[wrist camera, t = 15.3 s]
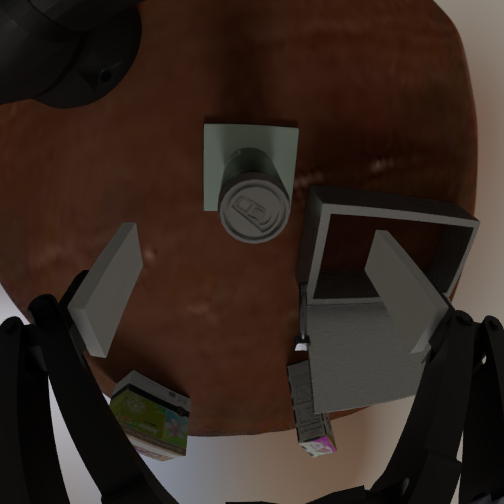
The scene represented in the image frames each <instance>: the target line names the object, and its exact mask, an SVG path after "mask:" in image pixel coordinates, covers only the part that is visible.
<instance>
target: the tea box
mask: <svg viewBox="0 0 504 504" xmlns="http://www.w3.org/2000/svg"><path fill="white" fill-rule="evenodd" d="M190 402H191V399H190V398H187V397H185V396H182V395H180V394H178V393H176V392H174V391H172V390H170V389H168V388H166V387H164V386H162V385H160V384H158V383H156V382H154V381H152V380H151V379H149V378H147V377H145V376H143V375H142V374H140V373H138V372H137V371H135V370H133V371H131V372H130V373H129V374H128V375H127V376H125V377H124V378H123V379H122V380H120V381H119V382H118V383H117V384H116V385H115V388H114V391H113V395H112V398H111V401H110V405H109V407H110V409H111V410H112V412H113V414H114V416H115V417H116V419H117V421H118V422H119V424H120V426H121V427H122V429H123V431H124V432H125V434H126V435H127V437H128V439H129V440H130V442H131V443H132V445H133V446H134V448H135V449H136V451H137V452H138V453H140V454H143V455H145V456H148V457H151V458H154V459H156V460H159V461H166V460H169V459H173V458H177V457H181V456H185V455H186V446H187V435H188V425H189V415H190Z"/></svg>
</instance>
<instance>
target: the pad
mask: <svg viewBox="0 0 504 504" xmlns="http://www.w3.org/2000/svg"><path fill="white" fill-rule="evenodd" d="M298 134H299V129H298V128H291V127H279V126H265V125H246V124H204V211H218V209H217V208H218V198H219V193H220V188H221V182H222V177H223V172H224V167H225V164H226V162H227V160H228V158H229V157H230V156H231V155H232V154H233V153H234V152H236V151H238V150H240V149H242V148H248V147H250V148H257V149H259V150H261V151H263V152H265V153H266V154H267V155H268V156H269V157H270V159H271V160H272V162H273V164H274V166H275V168H276V170H277V172H278V174H279V176H280V178H281V180H282V182H283V184H284V186H285V189H286V191H287V193H288V195H289V198H290V206H291V200H292V191H293V182H294V173H295V164H296V154H297V144H298ZM290 208H291V207H290Z"/></svg>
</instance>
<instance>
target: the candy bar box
mask: <svg viewBox="0 0 504 504" xmlns="http://www.w3.org/2000/svg"><path fill="white" fill-rule="evenodd" d="M286 369H287V375H288V381H289V387H290V393H291V399H292V406H293V412H294V419H295V424H296V430H297V437H298V443H299V444H300V445H301V446H302V447H303V448H304V449H305V450H306V451H307V452H308V453H309V454H310V455H311V456H312V457H317V456H321V455H325V454H328V453H333V452H335V451H337V449H336V445H335V440H334V436H333V431H332V427H331V423H330V419H329V415H328V412H326V413H318V414H313V408H312V396H311V385H310V374H309V364H308V360H305V361H302V362H299V363H296V364H292V365H289V366H286Z"/></svg>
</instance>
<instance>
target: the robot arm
mask: <svg viewBox="0 0 504 504" xmlns="http://www.w3.org/2000/svg"><path fill="white" fill-rule="evenodd" d="M143 1H145V0H0V105H3V104H7V103H12V102H16V101H21V100H26V99H33V100H36V101H38V102H41V103H43V104H45V105H48V106H50V107H54V108H62V109H67V108H74V107H80V106H84V105H88V104H90V103H93V102H95V101H97V100H99V99H100V98H102V97H103V96H105V95H106V94H108V93H109V92H110V91H111V90H112V89H113V88H115V87H116V86H117V85H118V83H119V82H120V81H121V80H122V79H123V78H124V76H125V75H126V73H127V72H128V70H129V69H130V67H131V65H132V64H133V62H134V59H135V57H136V55H137V52H138V49H139V45H140V40H141V21H140V17H139V15H138V12H137V10H136V9H135V7H134V5H136V4H138V3H140V2H143ZM142 267H143V263H142V258H141V252H140V246H139V240H138V233H137V227H136V223H122V225H121V226H120V227H119V229H118V230H117V232H116V233H115V234H114V236H113V237H112V239H111V240H110V241H109V243H108V244H107V246H106V247H105V248H104V250H103V251H102V253H101V254H100V256H99V257H98V259H97V260H96V262H95V263H94V265H93V266H92V268H91V269H90V270H83V271H82V272H81V273H79V274H78V275H77V276H76V277H75V278H74V280H73V282H72V283H71V285H70V286H69V288H68V289H67V291H66V292H65V294H64V295H63V297H62V299H61V300H60V302H59V304H58V303H57V300H56V298H55V297H54V296H53V295H51V294H44V295H40V296H38V297H36V298H35V299H34V300H33V301H32V302H31V303H30V304H29V306H28V313H29V315H30V317H31V319H32V321H33V323H34V324H29V325H24V324H23V322H22V320H21V319H20V318H19V317H16V316H13V317H10V318H7V319H6V320H5V321H4V322H3V323H2V324H1V325H0V504H70V501H69V498H68V495H67V492H66V488H65V484H64V481H63V477H62V473H61V469H60V464H59V460H58V455H57V450H56V444H55V439H54V433H53V426H52V418H51V410H50V399H49V385H48V377H49V380H50V383H51V386H52V389H53V392H54V395H55V398H56V401H57V403H58V406H59V409H60V411H61V414H62V416H63V419H64V421H65V424H66V426H67V428H68V431H69V433H70V435H71V438H72V440H73V442H74V444H75V446H76V448H77V450H78V452H79V454H80V456H81V458H82V460H83V462H84V464H85V466H86V468H87V470H88V471H89V473H90V475H91V477H92V478H93V480H94V482H95V484H96V485H97V487H98V489H99V490H100V492H101V495H102V497H101V502H102V504H179V503H178V502H177V501H176V500H175V499H174V498H173V497H172V496H171V495H170V494H169V493H168V492H167V491H166V489H165V488H164V487H163V486H162V485H161V483H160V482H159V481H158V480H157V478H156V477H155V476H154V474H153V473H152V472H151V470H150V469H149V468H148V466H147V465H146V464H145V462H144V461H143V460H142V458H141V457H140V455H139V454H138V452H137V451H136V449H135V448H134V446H133V445H132V443H131V442H130V440H129V439H128V437H127V435H126V434H125V432H124V431H123V429H122V427H121V426H120V424H119V422H118V421H117V419H116V417H115V416H114V414H113V412H112V410H111V409H110V407H109V405H108V403H107V401H106V399H105V398H104V396H103V394H102V392H101V390H100V388H99V386H98V384H97V382H96V380H95V378H94V376H93V374H92V372H91V369H90V367H89V365H88V363H87V361H86V358H85V357H84V355H83V353H84V350H85V348H87V349H88V351H89V353H90V355H91V356H97V357H103V358H106V357H107V354H108V351H109V349H110V346H111V343H112V340H113V338H114V335H115V332H116V330H117V327H118V324H119V322H120V319H121V317H122V314H123V312H124V309H125V307H126V304H127V302H128V299H129V297H130V295H131V292H132V290H133V288H134V285H135V283H136V281H137V278H138V276H139V274H140V272H141V269H142ZM364 270H365V272H366V274H367V275H368V277H369V279H370V280H371V282H372V284H373V285H374V287H375V289H376V291H377V292H378V294H379V296H380V298H381V299H382V301H383V303H384V305H385V307H386V308H387V310H388V312H389V314H390V316H391V317H392V319H393V321H394V323H395V325H396V327H397V329H398V331H399V332H400V334H401V336H402V338H403V340H404V342H405V344H406V346H407V348H408V350H409V352H410V353H416V352H421V351H423V350H424V348H425V346H426V345H427V343H428V342H429V344H430V346H431V349H430V350H429V352H428V353H427V355H426V356H425V357H424V359H423V360H422V362H421V364H423V363H424V362H425V361H426V362H425V366H424V370H423V373H422V377H421V380H420V384H419V387H418V390H417V393H416V396H415V399H414V402H413V405H412V408H411V411H410V414H409V416H408V419H407V422H406V425H405V427H404V429H403V432H402V434H401V437H400V439H399V442H398V444H397V446H396V448H395V451H394V453H393V455H392V457H391V460H390V462H389V463H388V465H387V468H386V470H385V471H384V473H383V474H382V475H381V476H380V477H379V479H378V480H377V481H376V482H375V483H374V485H373V486H372V488H371V489H370V490H365V489H364V485H363V486H359V487H355V488H351V489H346V490H342V491H338V492H333V493H331V494H328V495H326V496H324V497H321V498H319V499H316V500H314V501H311V502H309V503H306V504H450V503H451V500H452V498H453V495H454V492H455V489H456V486H457V483H458V480H459V477H460V474H461V478H460V487H459V503H458V504H504V329H503V326H502V324H501V323H500V322H499V320H498V319H496V318H495V317H493V316H489V315H488V316H486V317H485V318H484V320H483V321H482V323H477V322H474V321H473V319H472V318H471V317H470V316H469V314H467V313H466V312H463V311H461V310H455V309H454V308H453V306H452V305H451V303H450V302H449V301H448V299H447V298H446V297H445V295H444V294H442V291H441V290H440V289H439V288H438V286H437V285H436V284H435V282H434V281H433V280H432V279H431V278H429V277H428V276H427V275H424V274H423V272H422V271H421V270H420V269H419V267H418V266H417V265H416V264H415V262H414V261H413V260H412V259H411V258H410V256H409V255H408V254H407V253H406V252H405V250H404V249H403V248H402V247H401V246H400V245H399V243H398V242H397V241H396V240H395V239H394V238H393V237H392V235H391V234H390V233H389V232H388V231H387V230H376V232H375V236H374V239H373V243H372V246H371V249H370V253H369V256H368V259H367V263H366V266H365V269H364ZM485 356H486V362H485V363H484V364H483V362H482V359H483V358H484V357H485ZM462 432H463V455H462V463H461V462H460V461H458V460H457V458H456V457H457V452H458V448H459V444H460V440H461V436H462ZM226 504H276V503H268V502H262V501H260V502H226Z"/></svg>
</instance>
